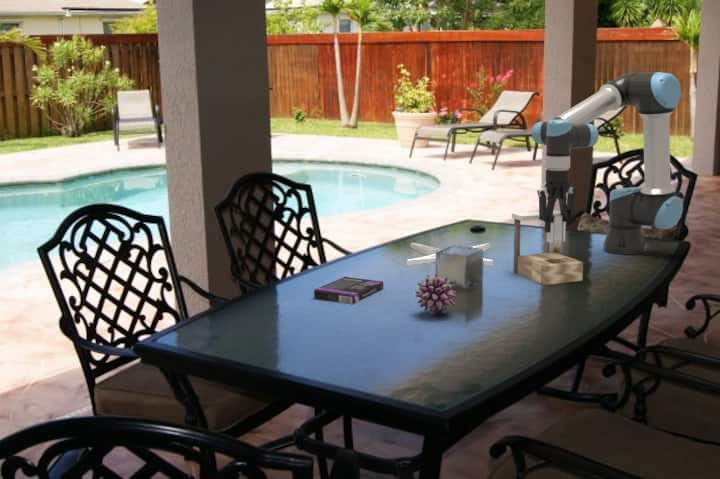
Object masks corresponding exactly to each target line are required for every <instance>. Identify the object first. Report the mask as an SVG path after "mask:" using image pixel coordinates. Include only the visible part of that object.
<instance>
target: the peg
mask: <svg viewBox="0 0 720 479" xmlns="http://www.w3.org/2000/svg"><path fill="white" fill-rule="evenodd" d="M551 222H552V223H554V227H553V243H549V252H551V253H559V254H561V253H563V242H562V232H563V215H562V214H553V216H552V221H551Z"/></svg>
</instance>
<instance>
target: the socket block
mask: <svg viewBox="0 0 720 479" xmlns="http://www.w3.org/2000/svg"><path fill="white" fill-rule="evenodd" d="M517 274H518V275H520V276H523V277H525V278H527V279H530V280H532V281H534V282H536V283H539V284H541V285H543V286H546V285H547V286H548V285H556V284H564V283H573V282H581V281H583V278H584V277H583V276H584V262H583V261H581V260H577V259H575V258H572V257H570V256H566V255H564V254H561V253H551V252H549V253H548V252H543V253H542V252H541V253H534V254H533V253H532V254H523V255H522V254H520V256H518V273H517Z"/></svg>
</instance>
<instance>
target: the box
mask: <svg viewBox="0 0 720 479" xmlns="http://www.w3.org/2000/svg"><path fill="white" fill-rule="evenodd" d="M383 290H384V281H381V280H372V279H368V278H367V279H365V278H356V277H349V276H343V277H342V278H339V279H335V281H332V282H329V283H327V284H324V285H323V286H319V287H318V288H316V289H313V294H314V295H313V298H314V300H321V301H327V302H336V303H343V304H350V305H354V304H356V303H359V302H361V301H362V300H365V299H366V298H368V297H371V296H373V295H374V294H376V293H378V292H380V291H383Z"/></svg>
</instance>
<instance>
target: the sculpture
mask: <svg viewBox="0 0 720 479" xmlns="http://www.w3.org/2000/svg"><path fill="white" fill-rule="evenodd" d="M470 247H473V248H479V249H482V250H483V251H482V252H484V251H486V250H489V249H491V243H490V242H488V243H487V242H486V243H483V244H477V245H473V246H470ZM410 249H413V250H414V251H417V252H418V253H421V254H423V256H418V257H413V258H409V259H407V260H406V266H407V265H409V266H415V265H414V264H418V265H423V264H422V263H428V264H431V263H430V262H435V260H436V252H437V251H440V250H443V249H444V248H438V247H433V246H429V245H424V244H420V243H415V242H411V243H410ZM425 254H426V255H425ZM427 255H428V256H427ZM482 258H483V257H482ZM483 262H484V264H485V265H484V266H488V265H490V266H489V267H494V260H493V259H488V258H483Z"/></svg>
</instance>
